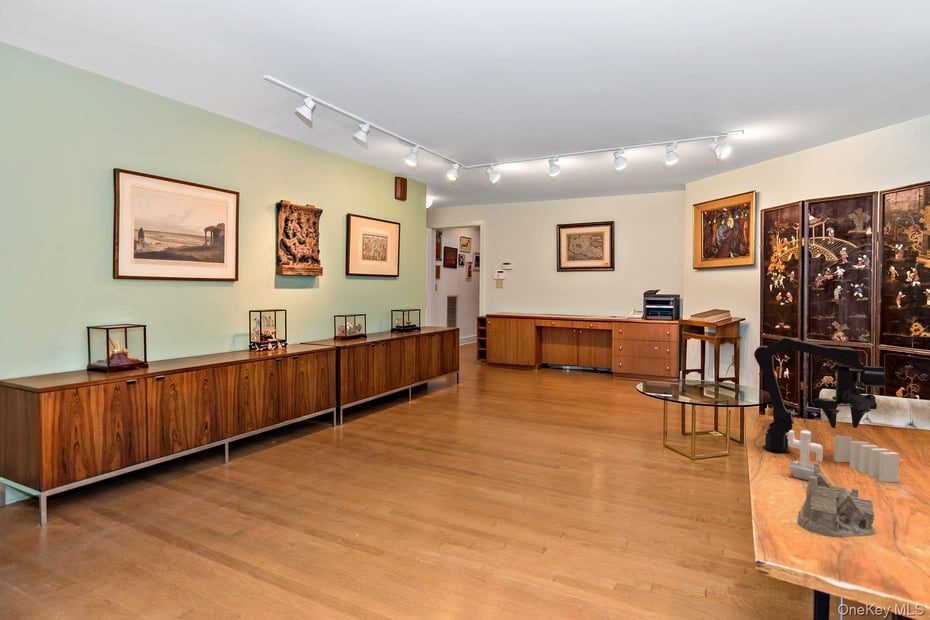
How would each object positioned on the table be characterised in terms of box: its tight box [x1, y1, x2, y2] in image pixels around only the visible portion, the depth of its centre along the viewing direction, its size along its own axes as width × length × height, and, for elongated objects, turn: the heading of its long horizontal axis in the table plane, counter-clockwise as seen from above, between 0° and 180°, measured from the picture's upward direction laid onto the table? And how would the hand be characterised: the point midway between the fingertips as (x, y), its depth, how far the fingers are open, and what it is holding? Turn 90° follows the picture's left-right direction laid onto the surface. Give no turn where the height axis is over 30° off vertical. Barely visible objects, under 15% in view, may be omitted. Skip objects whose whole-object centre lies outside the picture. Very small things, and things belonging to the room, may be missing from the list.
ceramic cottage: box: [797, 462, 875, 538], centre depth 128 cm, size 16×16×15 cm
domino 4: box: [868, 447, 890, 479], centre depth 162 cm, size 5×2×9 cm, turn 94°
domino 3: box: [858, 444, 880, 474], centre depth 166 cm, size 5×2×9 cm, turn 94°
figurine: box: [787, 429, 824, 482], centre depth 161 cm, size 7×9×15 cm
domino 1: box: [833, 435, 853, 463], centre depth 176 cm, size 5×2×9 cm, turn 93°
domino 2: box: [849, 440, 870, 470], centre depth 169 cm, size 5×2×9 cm, turn 94°
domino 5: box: [878, 451, 901, 483], centre depth 158 cm, size 5×2×9 cm, turn 94°
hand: (844, 427), depth 176 cm, fingers open, 8 cm apart
